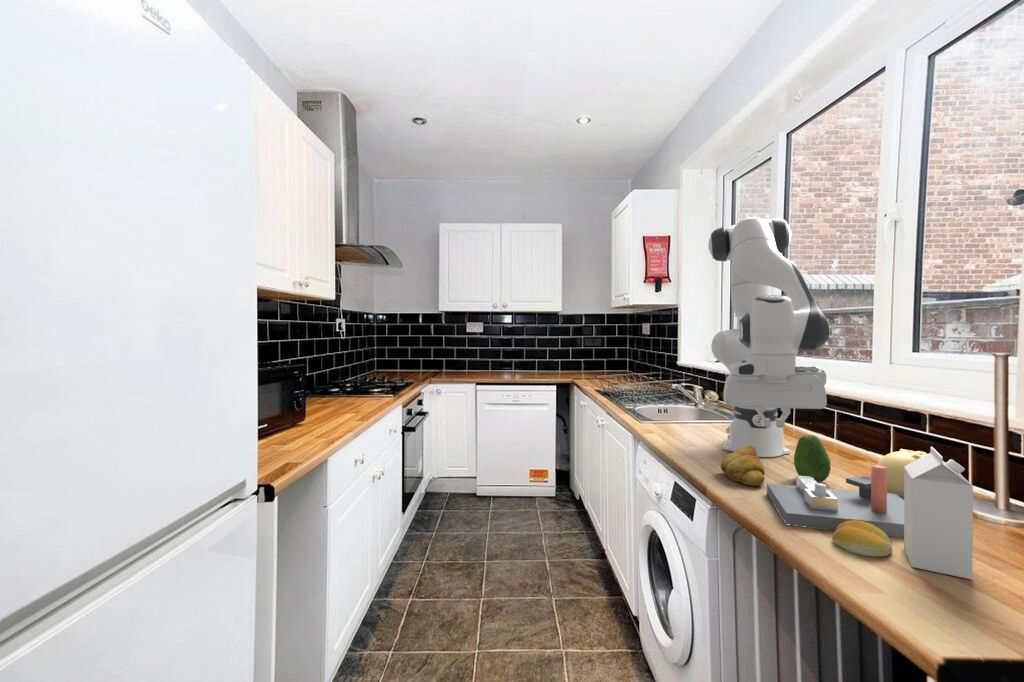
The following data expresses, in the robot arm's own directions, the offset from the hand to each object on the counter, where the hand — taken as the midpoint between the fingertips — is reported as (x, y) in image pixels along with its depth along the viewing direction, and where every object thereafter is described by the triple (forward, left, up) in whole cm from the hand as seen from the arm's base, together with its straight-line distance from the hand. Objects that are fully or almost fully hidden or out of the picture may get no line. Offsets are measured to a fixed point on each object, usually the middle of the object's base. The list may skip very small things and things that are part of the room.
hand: (773, 426), depth 100 cm
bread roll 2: (+18, +10, -18) cm, 27 cm away
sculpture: (-10, +30, -17) cm, 36 cm away
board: (+5, +12, -17) cm, 21 cm away
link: (+3, +7, -14) cm, 16 cm away
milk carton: (+23, +19, -17) cm, 34 cm away
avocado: (-15, +12, -17) cm, 26 cm away
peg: (+8, +17, -15) cm, 24 cm away
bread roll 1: (-13, -4, -17) cm, 22 cm away
